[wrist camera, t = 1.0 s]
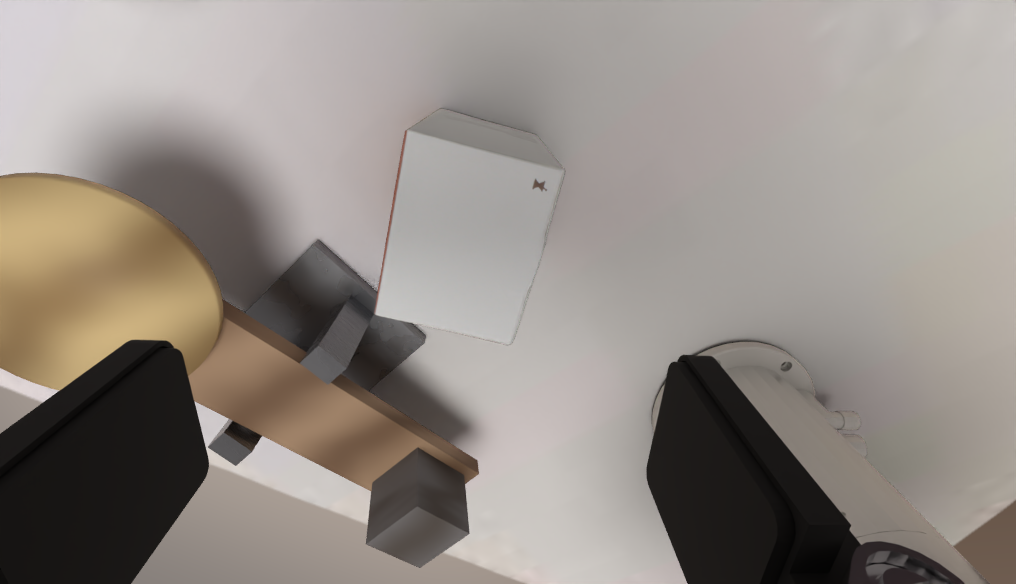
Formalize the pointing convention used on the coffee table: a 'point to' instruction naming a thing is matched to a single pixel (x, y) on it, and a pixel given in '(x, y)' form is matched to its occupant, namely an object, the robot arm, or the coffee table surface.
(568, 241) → the coffee table surface
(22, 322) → the beam
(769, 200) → the coffee table surface
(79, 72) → the coffee table surface
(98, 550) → the robot arm
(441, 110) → the small box
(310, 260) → the beam stand
